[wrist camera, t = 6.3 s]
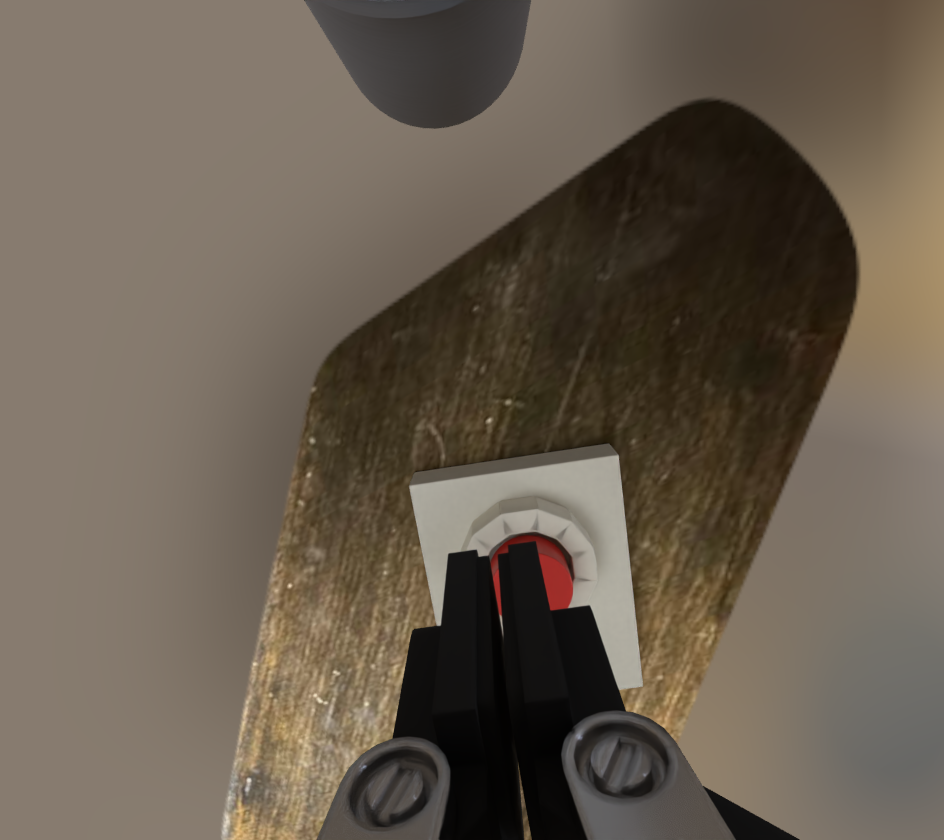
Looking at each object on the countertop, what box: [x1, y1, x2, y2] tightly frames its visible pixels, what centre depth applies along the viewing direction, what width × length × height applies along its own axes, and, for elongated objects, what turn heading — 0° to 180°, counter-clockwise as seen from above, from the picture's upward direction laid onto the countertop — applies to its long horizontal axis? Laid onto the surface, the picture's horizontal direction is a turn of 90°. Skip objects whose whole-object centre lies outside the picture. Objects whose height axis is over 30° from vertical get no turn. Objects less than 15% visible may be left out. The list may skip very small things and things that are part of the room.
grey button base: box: [409, 444, 643, 689], centre depth 31 cm, size 14×11×4 cm
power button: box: [490, 535, 573, 616], centre depth 28 cm, size 4×4×2 cm
